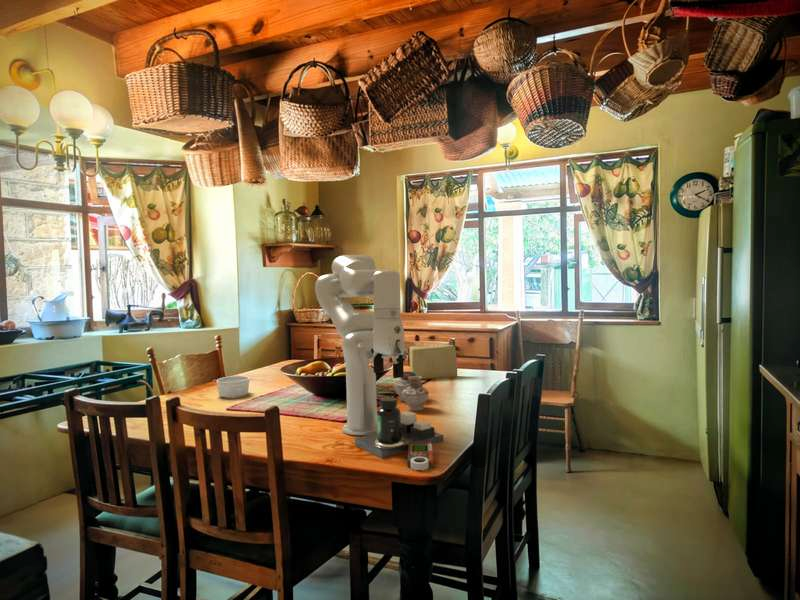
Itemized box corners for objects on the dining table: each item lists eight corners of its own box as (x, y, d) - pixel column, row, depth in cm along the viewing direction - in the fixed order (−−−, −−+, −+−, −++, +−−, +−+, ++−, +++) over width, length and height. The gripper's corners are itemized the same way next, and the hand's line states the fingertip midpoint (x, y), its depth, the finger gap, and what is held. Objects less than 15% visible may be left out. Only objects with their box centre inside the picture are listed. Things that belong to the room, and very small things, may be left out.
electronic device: (407, 462, 134) (408, 440, 149) (407, 473, 134) (408, 450, 149) (433, 462, 134) (432, 440, 148) (433, 473, 134) (432, 450, 149)
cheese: (454, 374, 256) (454, 343, 255) (459, 378, 246) (459, 346, 245) (409, 376, 253) (409, 345, 253) (412, 380, 244) (411, 348, 243)
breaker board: (354, 445, 155) (354, 430, 154) (414, 430, 168) (414, 416, 167) (381, 458, 143) (381, 442, 143) (443, 441, 156) (443, 426, 156)
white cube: (413, 434, 156) (413, 422, 156) (423, 431, 158) (423, 420, 158) (421, 437, 153) (421, 425, 153) (431, 434, 156) (430, 423, 155)
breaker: (400, 424, 162) (399, 413, 162) (409, 422, 164) (409, 411, 164) (407, 427, 159) (406, 416, 159) (416, 425, 161) (416, 413, 161)
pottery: (403, 413, 188) (402, 380, 187) (391, 397, 212) (391, 368, 211) (434, 411, 190) (433, 378, 189) (419, 395, 214) (418, 366, 213)
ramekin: (244, 399, 214) (243, 382, 214) (212, 399, 215) (211, 382, 214) (254, 391, 228) (253, 375, 227) (223, 391, 228) (223, 376, 228)
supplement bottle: (377, 445, 147) (376, 402, 146) (377, 437, 154) (376, 396, 153) (401, 444, 147) (401, 401, 147) (400, 436, 154) (399, 396, 154)
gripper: (416, 315, 144) (417, 377, 145) (381, 311, 158) (382, 368, 159) (394, 317, 139) (395, 381, 140) (359, 313, 153) (360, 371, 154)
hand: (388, 374), depth 150 cm, fingers open, 9 cm apart
